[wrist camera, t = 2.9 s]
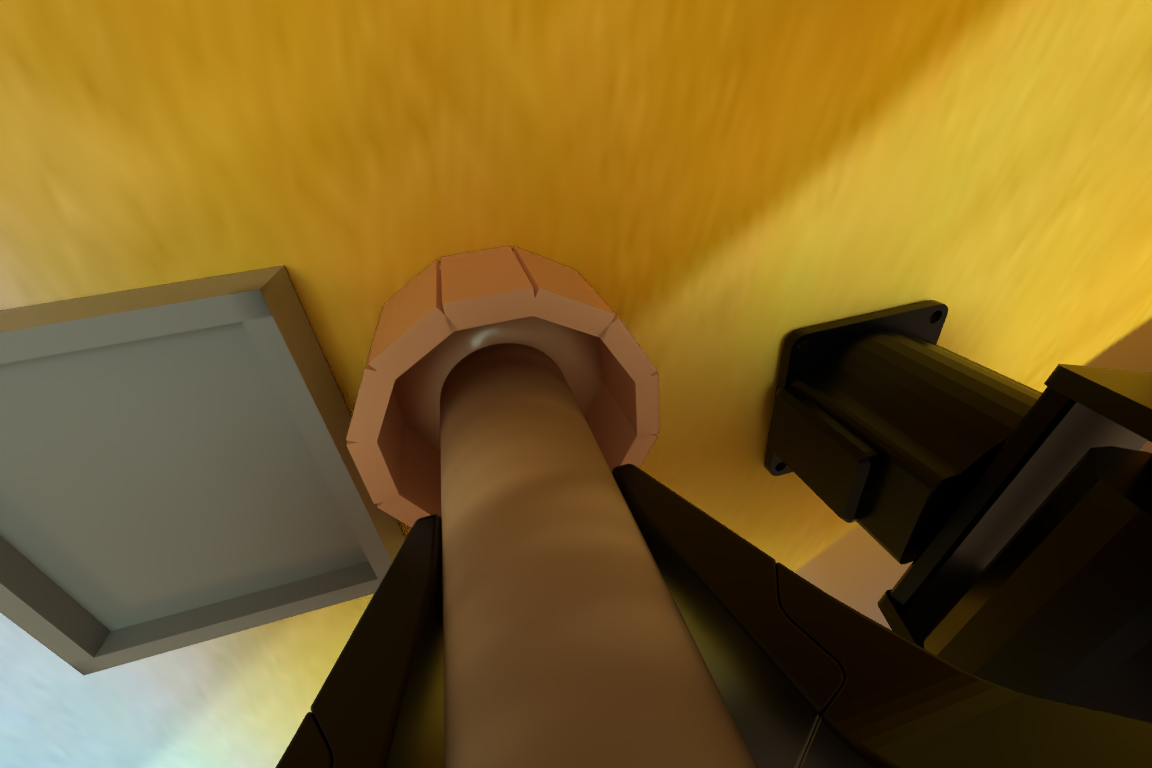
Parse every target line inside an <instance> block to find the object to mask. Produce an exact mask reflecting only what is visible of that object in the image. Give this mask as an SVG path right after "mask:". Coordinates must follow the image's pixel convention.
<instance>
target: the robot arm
mask: <svg viewBox="0 0 1152 768" xmlns="http://www.w3.org/2000/svg"><path fill="white" fill-rule="evenodd" d="M947 313H948V308H947V306H946V305H945V304H943V303H940V302H937V301H935V300H930V301H925V302H921V303H916V304H912V305H907V306H902V307H898V308H893V309H889V310H884V311H880V312H875V313H871V314H866V315H862V316H857V317H853V318H848V319H844V320H839V321H834V322H830V323H825V324H821V325H816V326H812V327H807V328H803V329H798V330H796V331H794V332H792V333H791V334H790V335H789V336H788V337H787V339H786V340H785V343H784V346H783V352H782V358H781V364H780V370H779V376H778V383H777V389H776V395H775V401H774V407H773V413H772V419H771V425H770V431H769V437H768V443H767V449H766V455H765V461H764V467H765V468H766V469H767V470H768V471H769V472H770V473H771V474H772V475H774V476H779V475H783V474H786V473H790V472H794V473H795V474H796V475H798V476H799V477H800V478H801V479H802V480H803V481H804V482H805V483H806V484H807V485H808V486H809V487H810V488H811V489H812V490H813V491H814V492H815V493H816V494H817V495H818V496H819V497H820V498H821V499H822V500H823V501H824V502H825V503H826V504H827V505H828V506H829V507H830V508H831V509H832V510H833V511H834V512H835V513H836V514H837V515H838V516H839V517H840V518H841V519H843V520H844V521H846V522H849V523H851V522H854V521H856V522H857V523H859V524H860V525H861V526H862V527H863V528H864V529H865V530H866V531H867V532H868V533H869V534H870V535H871V536H872V537H873V538H874V539H875V540H876V541H877V542H878V543H879V544H880V545H881V546H883V548H884V549H886V550H887V551H888V552H889V553H890V554H891V555H892V556H893V557H894V558H895V559H896V560H897V561H898V562H899V563H900V564H906V563H909V562H912V561H913V563H912V564H911V565H910V567H909V568H908V569H907V571H906V572H905V573H904V574H903V576H902V577H901V578H900V580H899V581H898V582H897V584H896V585H895V586H894V587H893V589H892V590H887V591H886V592H885V593H884V595H883V596H882V597H881V599H880V600H879V601H878V606H879V608H880V610H881V612H882V613H883V615H884V617H885V619H886V620H887V622H888V624H889V625H890V627H891V629H892V631H891V630H890V629H888V628H886V627H884V626H882V625H881V624H879V623H876V622H875V621H873V620H872V619H870V618H868V617H866V616H864V615H862V614H861V613H859V612H858V611H856V610H854V609H852V608H851V607H849V606H847V605H846V604H844V603H842V602H840V601H839V600H837V599H835V598H833V597H832V596H830V595H828V594H827V593H825V592H823V591H822V590H821V589H819V588H817V587H816V586H814V585H813V584H811V583H810V582H808V581H807V580H805V579H803V578H802V577H800V576H799V575H797V574H796V573H794V572H793V571H791V570H790V569H788V568H787V567H785V566H784V565H782V564H781V563H779V562H778V563H776V561H775V560H774V559H773V558H772V557H770V556H769V555H767V554H766V553H764V552H763V551H761V550H760V549H758V548H757V547H755V546H754V545H752V544H751V543H749V542H748V541H746V540H745V539H743V538H742V537H740V536H739V535H737V534H736V533H734V532H733V531H731V530H730V529H728V528H727V527H726V526H724V525H723V524H721V523H720V522H718V521H717V520H715V519H714V518H712V517H711V516H709V515H708V514H706V513H705V512H703V511H702V510H700V509H699V508H697V507H696V506H694V505H693V504H691V503H690V502H688V501H687V500H685V499H684V498H682V497H681V496H679V495H678V494H676V493H675V492H673V491H672V490H670V489H669V488H668V487H666V486H665V485H663V484H662V483H660V482H659V481H657V480H656V479H654V478H653V477H651V476H650V475H648V474H647V473H645V472H644V471H642V470H641V469H639V468H638V467H636V466H635V465H633V464H625V465H621V466H617V467H614V468H613V469H612V475H613V477H614V479H615V481H616V483H617V485H618V487H619V489H620V491H621V493H622V495H623V497H624V499H625V501H626V503H627V505H628V507H629V509H630V511H631V513H632V515H633V517H634V519H635V521H636V523H637V525H638V527H639V529H640V531H641V533H642V535H643V537H644V539H645V541H646V543H647V545H648V547H649V549H650V552H651V554H652V556H653V558H654V560H655V562H656V564H657V566H658V568H659V570H660V572H661V574H662V576H663V578H664V580H665V582H666V584H667V586H668V588H669V590H670V592H671V594H672V596H673V598H674V600H675V602H676V604H677V606H678V608H679V610H680V612H681V614H682V616H683V618H684V620H685V622H686V624H687V626H688V629H689V631H690V633H691V635H692V637H693V639H694V641H695V643H696V645H697V647H698V649H699V651H700V653H701V655H702V657H703V659H704V661H705V663H706V665H707V667H708V669H709V671H710V673H711V675H712V677H713V679H714V681H715V683H716V685H717V687H718V689H719V691H720V693H721V695H722V697H723V699H724V701H725V703H726V706H727V708H728V710H729V712H730V714H731V716H732V718H733V720H734V722H735V724H736V726H737V728H738V730H739V732H740V734H741V736H742V738H743V740H744V742H745V744H746V746H747V748H748V750H749V752H750V754H751V756H752V758H753V760H754V762H755V764H756V766H757V768H1152V453H1148V452H1143V451H1139V449H1140V448H1141V447H1142V446H1143V445H1144V444H1145V443H1146V442H1147V441H1148V440H1149V441H1151V442H1152V372H1141V371H1130V370H1120V369H1109V368H1098V367H1088V366H1077V365H1067V364H1058V366H1057V367H1056V368H1055V370H1054V371H1053V372H1052V374H1051V375H1050V376H1049V378H1048V379H1047V380H1046V382H1045V383H1044V384H1045V385H1046V386H1048V387H1047V388H1046V389H1045V391H1044V392H1043V393H1041V392H1039V391H1037V390H1035V389H1032V388H1030V387H1028V386H1026V385H1024V384H1021V383H1019V382H1017V381H1015V380H1013V379H1011V378H1008V377H1006V376H1004V375H1002V374H1000V373H997V372H995V371H993V370H991V369H989V368H986V367H984V366H982V365H980V364H978V363H975V362H973V361H971V360H969V359H967V358H965V357H962V356H960V355H958V354H956V353H954V352H951V351H949V350H947V349H945V348H943V347H940V346H938V345H936V344H937V341H938V338H939V335H940V333H941V330H942V327H943V324H944V322H945V319H946V316H947ZM801 342H802V344H801V345H800V346H799V344H800V343H801ZM798 346H799V347H798ZM311 711H312V712H309V713H307V714H306V716H305V718H304V719H303V721H302V723H301V725H300V727H299V728H298V730H297V732H296V734H295V735H294V737H293V739H292V741H291V742H290V744H289V746H288V747H287V749H286V751H285V753H284V754H283V756H282V758H281V759H280V761H279V763H278V764H277V766H276V768H445V732H444V661H443V590H442V519H441V517H440V515H438V514H433V515H430V516H426V517H422V518H419V519H417V520H416V521H415V523H414V525H413V526H412V528H411V530H410V532H409V534H408V535H407V537H406V539H405V541H404V542H403V544H402V546H401V548H400V550H399V551H398V553H397V555H396V557H395V558H394V560H393V562H392V564H391V566H390V567H389V569H388V571H387V573H386V574H385V576H384V578H383V580H382V581H381V583H380V585H379V587H378V589H377V590H376V592H375V594H374V596H373V597H372V599H371V601H370V603H369V605H368V606H367V608H366V610H365V612H364V613H363V615H362V617H361V619H360V621H359V622H358V624H357V626H356V628H355V629H354V631H353V633H352V635H351V636H350V638H349V640H348V642H347V644H346V645H345V647H344V649H343V651H342V652H341V654H340V656H339V658H338V660H337V661H336V663H335V665H334V667H333V668H332V670H331V672H330V674H329V675H328V677H327V679H326V681H325V683H324V684H323V686H322V688H321V690H320V691H319V693H318V695H317V697H316V699H315V700H314V702H313V704H312V706H311Z"/></svg>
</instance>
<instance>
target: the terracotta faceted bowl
mask: <svg viewBox="0 0 1152 768" xmlns="http://www.w3.org/2000/svg"><path fill="white" fill-rule="evenodd" d="M501 343H516V344H523V345H527V346H530V347H533V348H536V349H538V350H540V351H542V352H544V353H545V354H546V355H548V356H549V357H550V358H551V359H552V360H553V361H554V362H555V363H556V364H557V365H558V367H559V368H560V370H561V371H562V373H563V375H564V377H565V379H566V381H567V383H568V385H569V387H570V389H571V391H572V393H573V395H574V398H575V400H576V402H577V404H578V406H579V408H580V410H581V412H582V414H583V416H584V418H585V420H586V422H587V424H588V426H589V428H590V430H591V432H592V434H593V436H594V438H595V440H596V442H597V444H598V446H599V448H600V450H601V452H602V454H603V456H604V458H605V460H606V462H607V464H608V466H609V468H610V470H611V472H612V469H613V468H614V467H617V466H621V465H625V464H633V465H635V466H636V467H638V468H640V466H641V464H642V463H643V461H644V459H645V457H646V456H647V454H648V452H649V451H650V449H651V447H652V445H653V444H654V442H655V440H656V439H657V435H656V434H657V433H659V374H658V373H657V372H656V371H657V369H656V367H655V366H654V365H653V363H652V362H651V361H650V359H649V358H648V356H647V355H646V354H645V352H644V351H643V350H642V348H641V347H640V345H639V344H638V343H637V341H636V340H635V339H634V337H633V336H632V334H631V333H630V332H629V330H628V329H627V328H626V326H625V325H624V323H623V322H622V321H621V319H620V318H619V317H618V316H617V315H616V314H615V312H614V311H613V310H612V309H611V308H610V307H609V306H608V305H607V304H606V302H605V301H604V300H603V299H602V298H601V297H600V296H599V295H598V294H597V293H596V291H595V290H594V289H593V288H592V287H591V286H590V285H589V284H588V283H587V282H586V280H585V279H584V278H583V277H582V276H581V275H580V274H579V273H578V272H576V271H575V269H572V268H570V267H567V266H565V265H562V264H559V263H557V262H554V261H552V260H549V259H546V258H544V257H541V256H539V255H536V254H533V253H531V252H528V251H526V250H523V249H520V248H518V247H515V246H514V249H513V250H512V249H511V247H510V246H505V247H499V248H492V249H486V250H480V251H474V252H468V253H462V254H456V255H450V256H444V257H441V262H439V261H438V260H437V259H436V260H435V261H433V262H432V263H431V264H430V265H429V266H428V267H426V268H425V269H424V270H423V271H422V272H421V273H419V274H418V275H417V276H416V277H415V278H413V279H412V280H411V281H410V282H409V283H408V284H406V285H405V286H404V287H403V288H402V289H401V290H399V291H398V292H397V293H396V294H395V295H394V296H392V297H391V298H390V299H389V300H388V301H387V302H385V304H384V307H382V310H381V313H380V317H379V320H378V324H377V327H376V331H375V334H374V338H373V341H372V345H371V348H370V352H369V356H368V359H367V363H366V366H365V370H364V373H363V377H362V381H361V385H360V389H359V392H358V396H357V400H356V404H355V407H354V411H353V415H352V419H351V423H350V426H349V430H348V434H347V438H346V440H347V444H346V446H347V448H348V450H349V452H350V454H351V456H352V458H353V460H354V463H355V465H356V467H357V469H358V471H359V473H360V475H361V477H362V480H363V482H364V484H365V486H366V488H367V490H368V492H369V495H370V497H371V499H372V501H373V503H374V504H377V503H378V505H377V508H379V509H381V510H382V511H384V512H386V513H387V514H389V515H391V516H392V517H394V518H396V519H398V520H399V521H401V522H403V523H404V524H406V525H408V526H409V527H411V528H412V526H413V525H414V523H415V521H416V520H417V519H419V518H422V517H426V516H430V515H433V514H438V515H440V517H441V448H440V394H441V390H442V386H443V384H444V381H445V379H446V377H447V376H448V374H449V372H450V371H451V370H452V369H453V367H454V366H455V365H456V364H457V363H458V362H459V361H460V360H461V359H463V358H464V357H466V356H467V355H468V354H470V353H472V352H474V351H476V350H478V349H481V348H483V347H486V346H490V345H494V344H501Z"/></svg>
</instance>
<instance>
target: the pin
mask: <svg viewBox="0 0 1152 768" xmlns="http://www.w3.org/2000/svg"><path fill="white" fill-rule="evenodd" d="M440 448H441V519H442V590H443V661H444V732H445V768H757V766H756V764H755V762H754V760H753V758H752V756H751V754H750V752H749V750H748V748H747V746H746V744H745V742H744V740H743V738H742V736H741V734H740V732H739V730H738V728H737V726H736V724H735V722H734V720H733V718H732V716H731V714H730V712H729V710H728V708H727V706H726V703H725V701H724V699H723V697H722V695H721V693H720V691H719V689H718V687H717V685H716V683H715V681H714V679H713V677H712V675H711V673H710V671H709V669H708V667H707V665H706V663H705V661H704V659H703V657H702V655H701V653H700V651H699V649H698V647H697V645H696V643H695V641H694V639H693V637H692V635H691V633H690V631H689V629H688V626H687V624H686V622H685V620H684V618H683V616H682V614H681V612H680V610H679V608H678V606H677V604H676V602H675V600H674V598H673V596H672V594H671V592H670V590H669V588H668V586H667V584H666V582H665V580H664V578H663V576H662V574H661V572H660V570H659V568H658V566H657V564H656V562H655V560H654V558H653V556H652V554H651V552H650V549H649V547H648V545H647V543H646V541H645V539H644V537H643V535H642V533H641V531H640V529H639V527H638V525H637V523H636V521H635V519H634V517H633V515H632V513H631V511H630V509H629V507H628V505H627V503H626V501H625V499H624V497H623V495H622V493H621V491H620V489H619V487H618V485H617V483H616V481H615V479H614V477H613V475H612V472H611V470H610V468H609V466H608V464H607V462H606V460H605V458H604V456H603V454H602V452H601V450H600V448H599V446H598V444H597V442H596V440H595V438H594V436H593V434H592V432H591V430H590V428H589V426H588V424H587V422H586V420H585V418H584V416H583V414H582V412H581V410H580V408H579V406H578V404H577V402H576V400H575V398H574V395H573V393H572V391H571V389H570V387H569V385H568V383H567V381H566V379H565V377H564V375H563V373H562V371H561V370H560V368H559V367H558V365H557V364H556V363H555V362H554V361H553V360H552V359H551V358H550V357H549V356H548V355H546V354H545V353H544V352H542V351H540V350H538V349H536V348H533V347H530V346H527V345H523V344H516V343H501V344H494V345H490V346H486V347H483V348H481V349H478V350H476V351H474V352H472V353H470V354H468V355H467V356H466V357H464V358H463V359H461V360H460V361H459V362H458V363H457V364H456V365H455V366H454V367H453V369H452V370H451V371H450V372H449V374H448V376H447V377H446V379H445V381H444V384H443V386H442V390H441V394H440Z"/></svg>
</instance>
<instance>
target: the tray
mask: <svg viewBox="0 0 1152 768" xmlns="http://www.w3.org/2000/svg"><path fill="white" fill-rule="evenodd" d="M351 419H352V418H351V415H350V413H349V411H348V409H347V406H346V404H345V402H344V400H343V397H342V395H341V393H340V390H339V388H338V386H337V384H336V381H335V379H334V377H333V375H332V372H331V370H330V368H329V366H328V363H327V361H326V359H325V357H324V354H323V352H322V350H321V348H320V345H319V343H318V341H317V339H316V336H315V334H314V332H313V330H312V327H311V325H310V323H309V321H308V318H307V316H306V314H305V312H304V309H303V307H302V305H301V303H300V300H299V298H298V296H297V293H296V291H295V289H294V287H293V284H292V282H291V280H290V278H289V275H288V273H287V271H286V269H285V266H278V267H272V268H266V269H259V270H253V271H247V272H240V273H234V274H228V275H221V276H215V277H209V278H203V279H196V280H190V281H184V282H177V283H171V284H165V285H158V286H152V287H146V288H140V289H133V290H127V291H121V292H114V293H108V294H102V295H95V296H89V297H83V298H77V299H70V300H64V301H58V302H51V303H45V304H39V305H32V306H26V307H20V308H14V309H7V310H1V311H0V613H2V614H3V615H4V616H6V617H7V618H8V619H10V620H11V621H12V622H14V623H15V624H16V625H18V626H19V627H20V628H22V629H23V630H24V631H26V632H27V633H28V634H30V635H31V636H32V637H34V638H35V639H36V640H38V641H39V642H40V643H42V644H43V645H44V646H46V647H47V648H48V649H50V650H51V651H52V652H54V653H55V654H56V655H58V656H59V657H60V658H61V659H63V660H64V661H65V662H67V663H68V664H69V665H71V666H72V667H73V668H75V669H76V670H77V671H79V672H80V673H81V674H83V675H87V674H90V673H94V672H97V671H101V670H104V669H108V668H111V667H115V666H118V665H122V664H125V663H129V662H133V661H136V660H140V659H143V658H147V657H150V656H154V655H157V654H161V653H164V652H168V651H172V650H175V649H179V648H182V647H186V646H189V645H193V644H196V643H200V642H203V641H207V640H211V639H214V638H218V637H221V636H225V635H228V634H232V633H235V632H239V631H242V630H246V629H249V628H253V627H257V626H260V625H264V624H267V623H271V622H274V621H278V620H281V619H285V618H288V617H292V616H296V615H299V614H303V613H306V612H310V611H313V610H317V609H320V608H324V607H327V606H331V605H335V604H338V603H342V602H345V601H349V600H352V599H356V598H359V597H363V596H366V595H370V594H374V593H375V592H376V590H377V589H378V587H379V585H380V583H381V581H382V580H383V578H384V576H385V574H386V573H387V571H388V569H389V567H390V566H391V564H392V562H393V560H394V558H395V557H396V555H397V553H398V551H399V550H400V548H401V546H402V544H403V542H404V541H405V537H404V535H403V533H402V530H401V528H400V526H399V524H398V521H397V519H396V518H394V517H392V516H391V515H389V514H387V513H386V512H384V511H382V510H381V509H379V508H377V505H378V503H377V504H374V503H373V501H372V499H371V497H370V495H369V492H368V490H367V488H366V486H365V484H364V482H363V480H362V477H361V475H360V473H359V471H358V469H357V467H356V465H355V463H354V460H353V458H352V456H351V454H350V452H349V450H348V448H347V446H346V444H347V440H346V438H347V434H348V430H349V426H350V423H351Z"/></svg>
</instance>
